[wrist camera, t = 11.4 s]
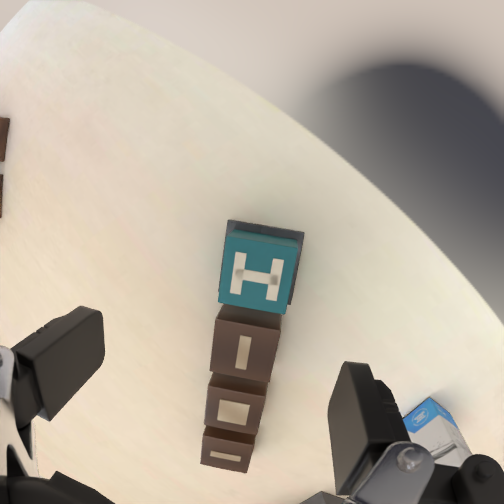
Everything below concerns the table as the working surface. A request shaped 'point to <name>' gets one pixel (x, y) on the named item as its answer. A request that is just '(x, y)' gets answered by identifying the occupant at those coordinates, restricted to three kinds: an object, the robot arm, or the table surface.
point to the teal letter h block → (257, 271)
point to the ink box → (437, 434)
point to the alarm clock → (323, 499)
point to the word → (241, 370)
